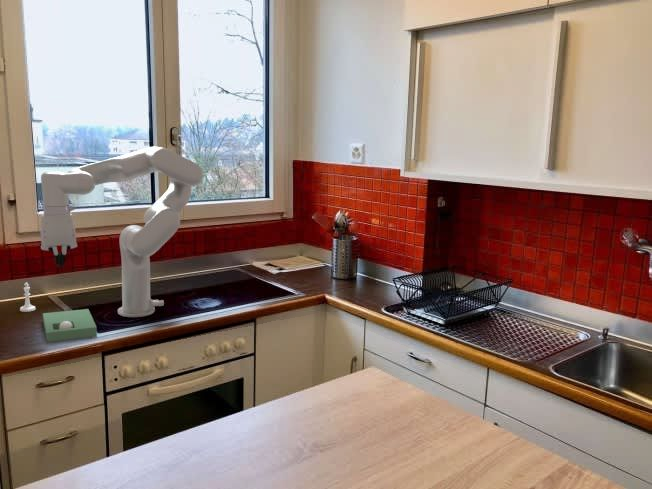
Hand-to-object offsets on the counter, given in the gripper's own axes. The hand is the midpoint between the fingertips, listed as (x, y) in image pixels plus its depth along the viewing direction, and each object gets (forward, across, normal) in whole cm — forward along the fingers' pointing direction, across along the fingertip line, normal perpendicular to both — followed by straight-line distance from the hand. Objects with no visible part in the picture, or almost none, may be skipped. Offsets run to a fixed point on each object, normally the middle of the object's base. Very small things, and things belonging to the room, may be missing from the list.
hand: (60, 266), depth 180 cm
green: (+20, -1, +7) cm, 21 cm away
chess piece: (+20, +10, -19) cm, 29 cm away
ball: (+17, +1, +12) cm, 21 cm away
